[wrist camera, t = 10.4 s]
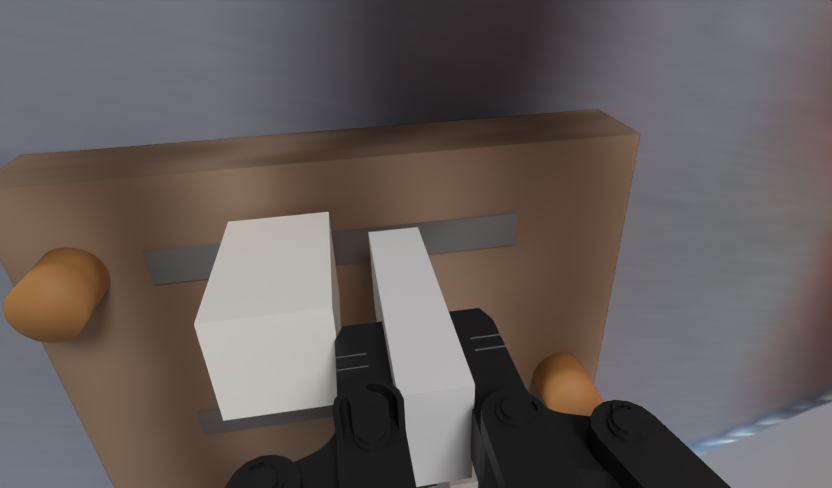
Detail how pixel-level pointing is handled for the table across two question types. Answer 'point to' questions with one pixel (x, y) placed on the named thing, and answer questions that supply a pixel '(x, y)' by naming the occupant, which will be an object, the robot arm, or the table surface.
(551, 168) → the switch unit
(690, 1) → the table surface
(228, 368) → the switch
